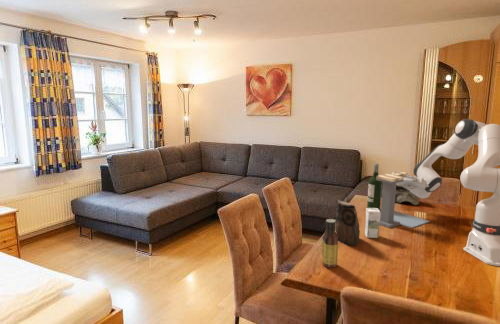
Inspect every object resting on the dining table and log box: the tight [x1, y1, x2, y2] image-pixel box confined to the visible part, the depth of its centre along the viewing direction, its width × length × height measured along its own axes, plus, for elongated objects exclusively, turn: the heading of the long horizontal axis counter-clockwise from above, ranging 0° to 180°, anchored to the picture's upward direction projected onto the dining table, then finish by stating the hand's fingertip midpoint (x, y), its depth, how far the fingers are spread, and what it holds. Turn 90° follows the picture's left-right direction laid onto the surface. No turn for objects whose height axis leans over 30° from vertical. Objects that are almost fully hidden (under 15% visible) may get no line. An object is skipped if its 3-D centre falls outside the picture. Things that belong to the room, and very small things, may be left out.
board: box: [376, 171, 409, 182], centre depth 186 cm, size 20×10×2 cm, turn 123°
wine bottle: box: [366, 162, 383, 211], centre depth 211 cm, size 8×8×30 cm
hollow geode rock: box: [381, 183, 420, 206], centre depth 229 cm, size 28×13×15 cm
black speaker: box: [334, 199, 361, 247], centre depth 163 cm, size 13×13×20 cm
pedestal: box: [376, 178, 403, 229], centre depth 185 cm, size 10×10×26 cm
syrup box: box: [364, 207, 381, 239], centre depth 168 cm, size 6×6×14 cm
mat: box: [380, 210, 430, 229], centre depth 195 cm, size 18×24×1 cm
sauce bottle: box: [321, 218, 339, 269], centre depth 138 cm, size 6×6×20 cm
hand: (401, 174), depth 189 cm, fingers open, 8 cm apart
